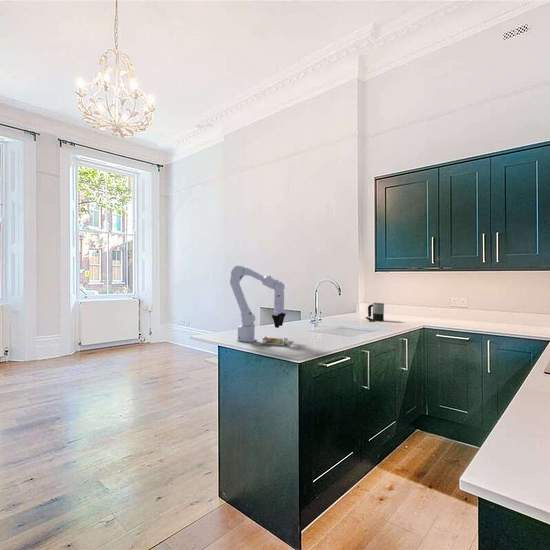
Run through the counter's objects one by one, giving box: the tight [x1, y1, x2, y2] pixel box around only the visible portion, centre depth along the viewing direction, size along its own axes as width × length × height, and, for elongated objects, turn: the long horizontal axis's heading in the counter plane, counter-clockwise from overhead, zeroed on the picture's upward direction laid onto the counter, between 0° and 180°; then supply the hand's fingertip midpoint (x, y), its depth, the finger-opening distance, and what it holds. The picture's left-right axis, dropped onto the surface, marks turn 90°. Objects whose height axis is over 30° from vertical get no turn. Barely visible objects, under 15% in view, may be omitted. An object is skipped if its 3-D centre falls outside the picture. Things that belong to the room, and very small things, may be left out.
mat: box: [260, 340, 294, 348], centre depth 199 cm, size 15×16×1 cm
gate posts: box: [261, 336, 289, 346], centre depth 194 cm, size 14×3×4 cm, turn 86°
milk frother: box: [365, 302, 385, 322], centre depth 298 cm, size 14×16×15 cm
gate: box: [267, 337, 284, 344], centre depth 195 cm, size 10×1×3 cm, turn 75°
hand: (278, 326), depth 204 cm, fingers open, 7 cm apart
